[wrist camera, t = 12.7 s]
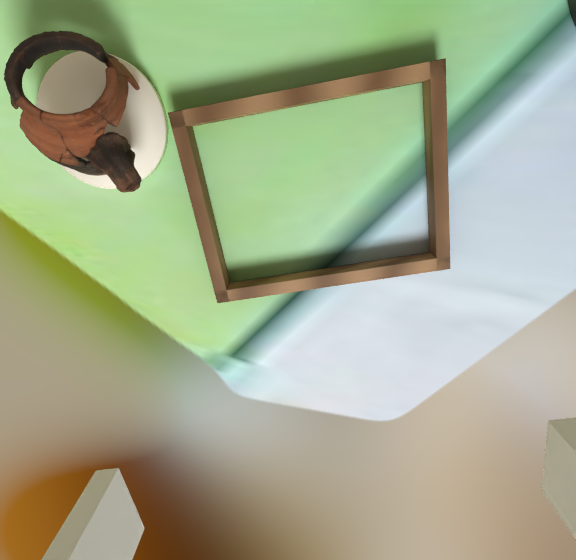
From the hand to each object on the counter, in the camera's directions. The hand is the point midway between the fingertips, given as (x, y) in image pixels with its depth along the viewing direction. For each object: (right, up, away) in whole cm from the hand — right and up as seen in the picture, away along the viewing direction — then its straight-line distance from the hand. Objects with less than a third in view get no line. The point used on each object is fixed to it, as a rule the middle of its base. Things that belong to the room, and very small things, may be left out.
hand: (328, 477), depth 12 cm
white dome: (-17, +20, +22) cm, 34 cm away
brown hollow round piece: (-17, +19, +21) cm, 33 cm away
